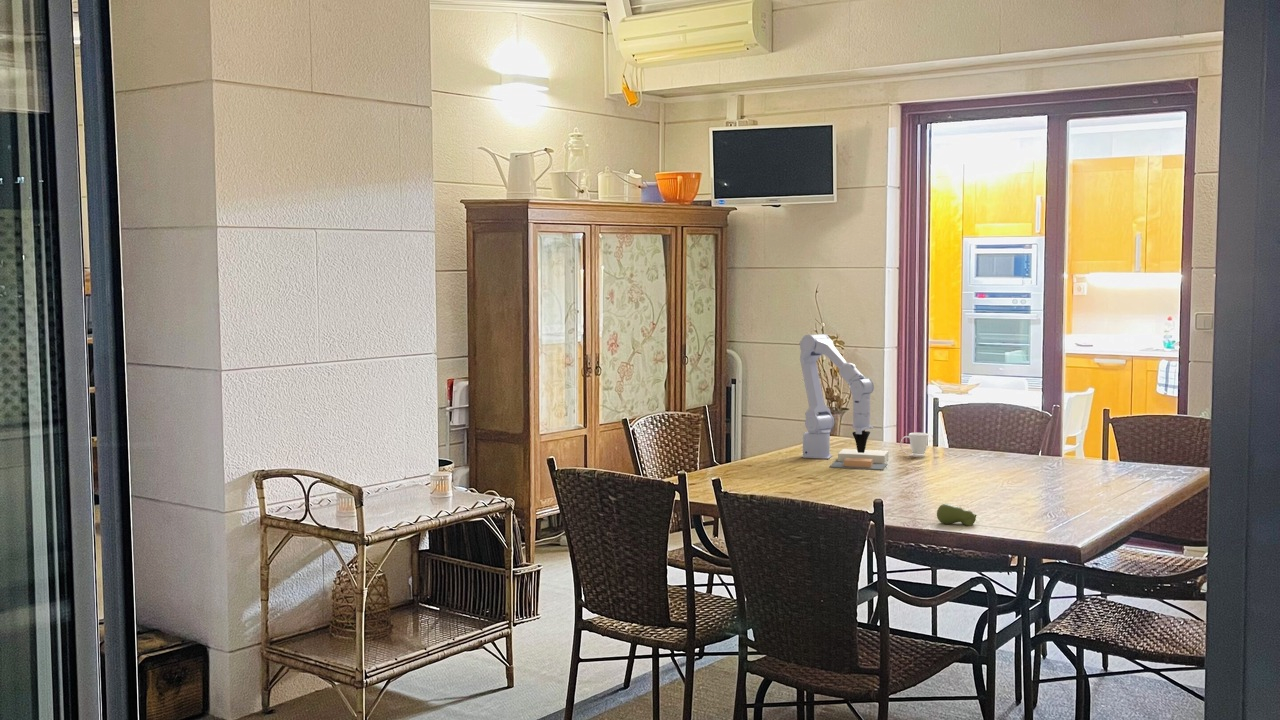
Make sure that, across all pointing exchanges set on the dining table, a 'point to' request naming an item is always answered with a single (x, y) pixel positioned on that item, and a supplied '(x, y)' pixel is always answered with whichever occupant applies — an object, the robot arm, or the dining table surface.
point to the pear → (955, 515)
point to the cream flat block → (864, 455)
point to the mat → (874, 467)
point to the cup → (917, 443)
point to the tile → (858, 462)
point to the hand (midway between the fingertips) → (861, 452)
